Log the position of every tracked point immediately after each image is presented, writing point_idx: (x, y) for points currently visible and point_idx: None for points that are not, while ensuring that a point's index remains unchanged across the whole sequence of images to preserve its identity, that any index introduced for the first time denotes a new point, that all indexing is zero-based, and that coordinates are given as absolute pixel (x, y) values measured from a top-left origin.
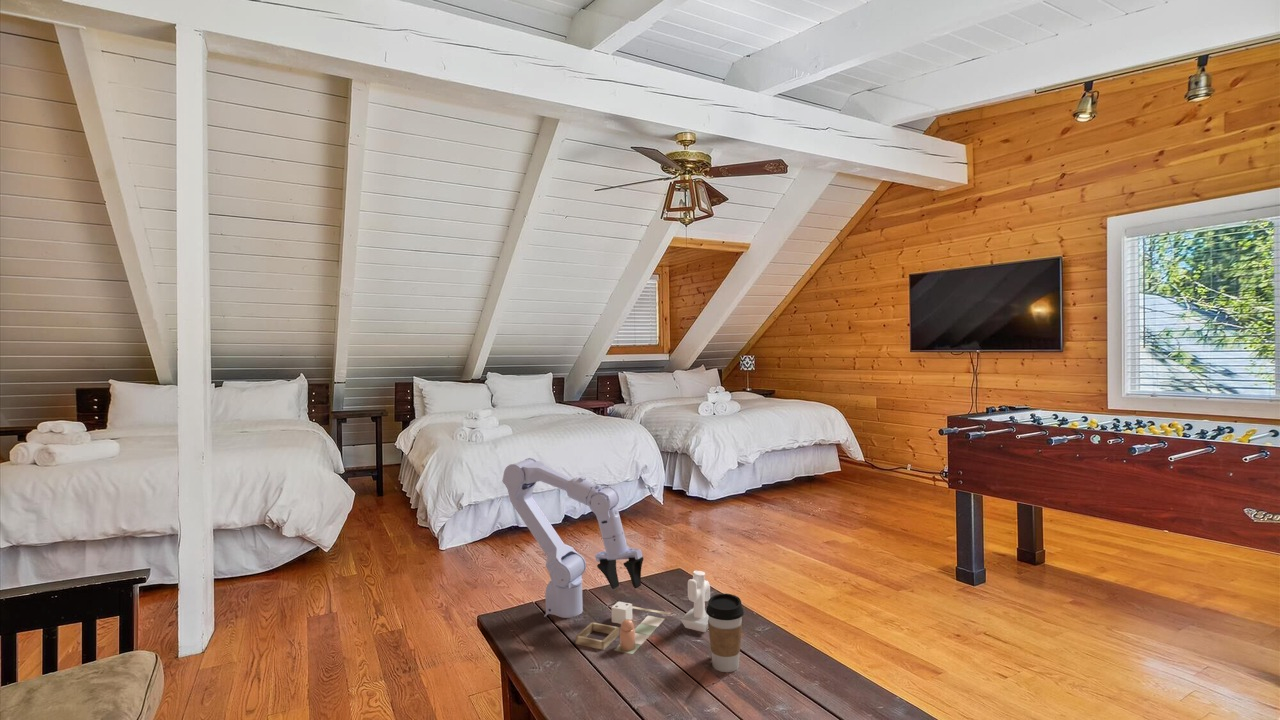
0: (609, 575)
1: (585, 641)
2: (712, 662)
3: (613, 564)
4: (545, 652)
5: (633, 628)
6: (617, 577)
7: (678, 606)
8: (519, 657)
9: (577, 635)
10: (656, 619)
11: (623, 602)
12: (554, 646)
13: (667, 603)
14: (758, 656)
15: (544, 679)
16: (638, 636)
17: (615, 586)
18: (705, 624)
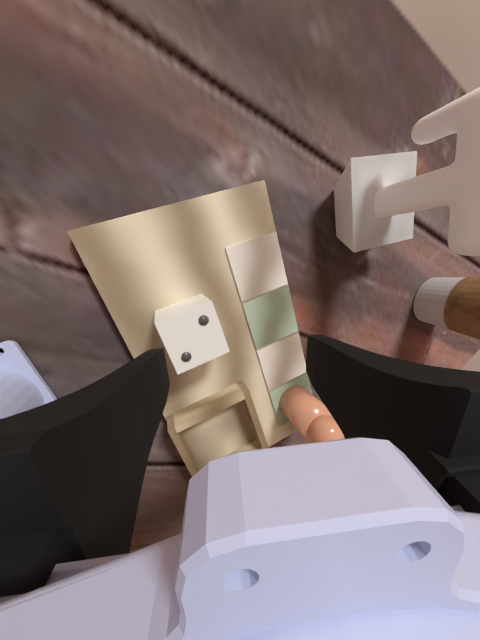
0: (144, 448)
1: None
2: (423, 319)
3: (100, 444)
4: (158, 523)
5: (329, 413)
6: (148, 364)
7: (230, 86)
8: None
9: None
10: (261, 252)
11: (177, 315)
12: (150, 501)
13: (182, 81)
14: None
15: None
16: (282, 354)
17: (166, 375)
18: (409, 236)
